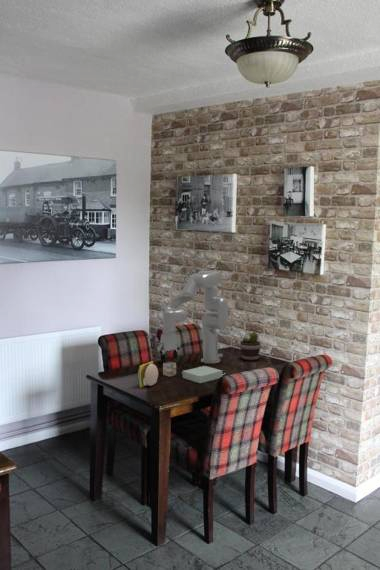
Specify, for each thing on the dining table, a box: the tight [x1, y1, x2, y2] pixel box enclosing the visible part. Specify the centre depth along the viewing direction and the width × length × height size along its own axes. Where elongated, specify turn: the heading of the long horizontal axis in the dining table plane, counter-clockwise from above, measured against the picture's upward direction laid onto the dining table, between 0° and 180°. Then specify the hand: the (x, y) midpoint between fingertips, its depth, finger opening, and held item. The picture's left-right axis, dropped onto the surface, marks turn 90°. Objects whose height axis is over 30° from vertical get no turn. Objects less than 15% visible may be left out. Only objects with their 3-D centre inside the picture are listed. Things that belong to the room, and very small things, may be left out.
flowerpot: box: [238, 330, 262, 362], centre depth 370 cm, size 14×15×20 cm
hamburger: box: [137, 360, 159, 388], centre depth 314 cm, size 12×8×12 cm
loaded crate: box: [162, 361, 177, 377], centre depth 335 cm, size 6×6×7 cm
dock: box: [182, 365, 224, 384], centre depth 328 cm, size 18×15×4 cm
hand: (168, 359), depth 334 cm, fingers open, 9 cm apart
